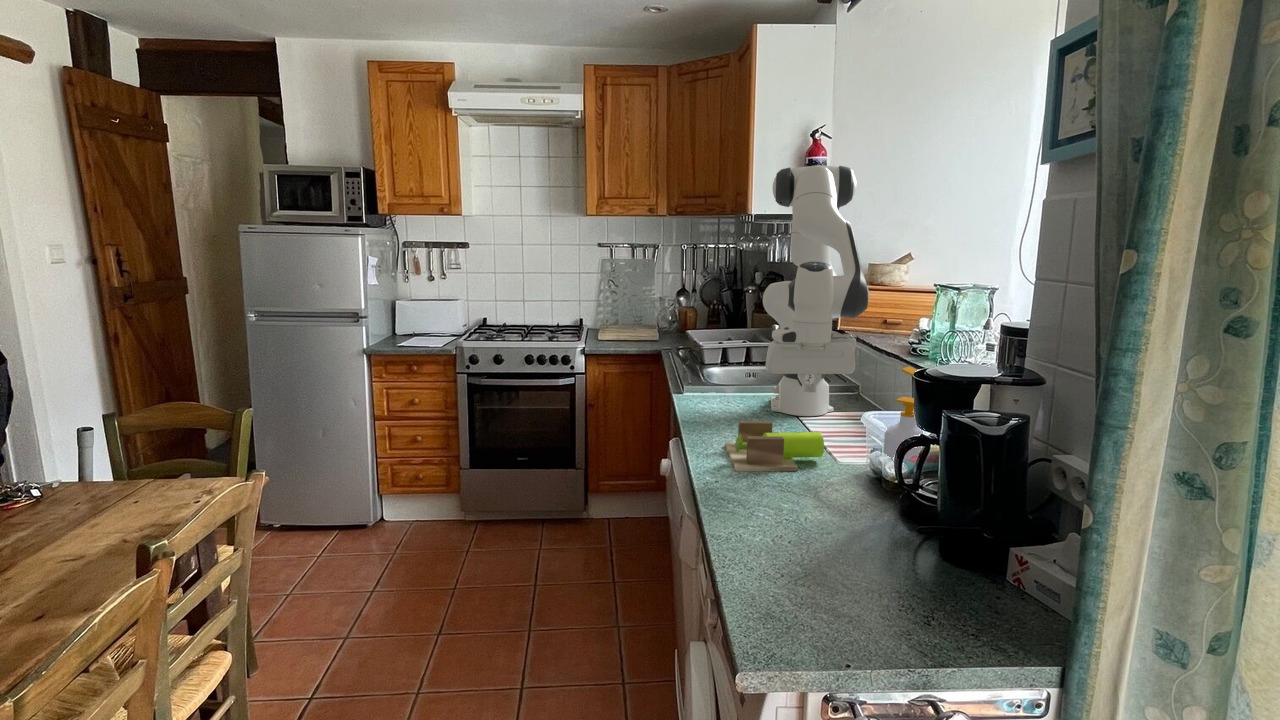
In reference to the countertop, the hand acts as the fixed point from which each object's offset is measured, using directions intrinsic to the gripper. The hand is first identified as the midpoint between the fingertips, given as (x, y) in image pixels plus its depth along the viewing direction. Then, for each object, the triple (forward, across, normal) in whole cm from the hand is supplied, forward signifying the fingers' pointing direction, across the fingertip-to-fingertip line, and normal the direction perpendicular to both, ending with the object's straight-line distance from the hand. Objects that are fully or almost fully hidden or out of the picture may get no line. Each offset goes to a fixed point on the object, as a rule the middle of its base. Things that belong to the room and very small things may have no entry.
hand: (808, 392), depth 158 cm
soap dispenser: (+12, -3, +2) cm, 12 cm away
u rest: (+16, +11, 0) cm, 19 cm away
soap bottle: (+16, -18, +14) cm, 28 cm away
